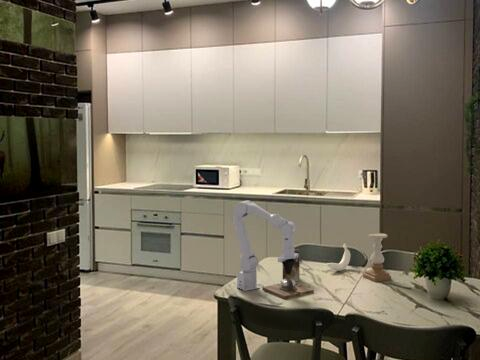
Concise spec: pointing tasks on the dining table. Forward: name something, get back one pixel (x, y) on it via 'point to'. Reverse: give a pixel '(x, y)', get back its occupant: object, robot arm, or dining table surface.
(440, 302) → the dining table surface
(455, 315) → the dining table surface
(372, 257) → the candle holder
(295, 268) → the coffee box
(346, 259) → the banana
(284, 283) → the steel cap
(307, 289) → the post base
